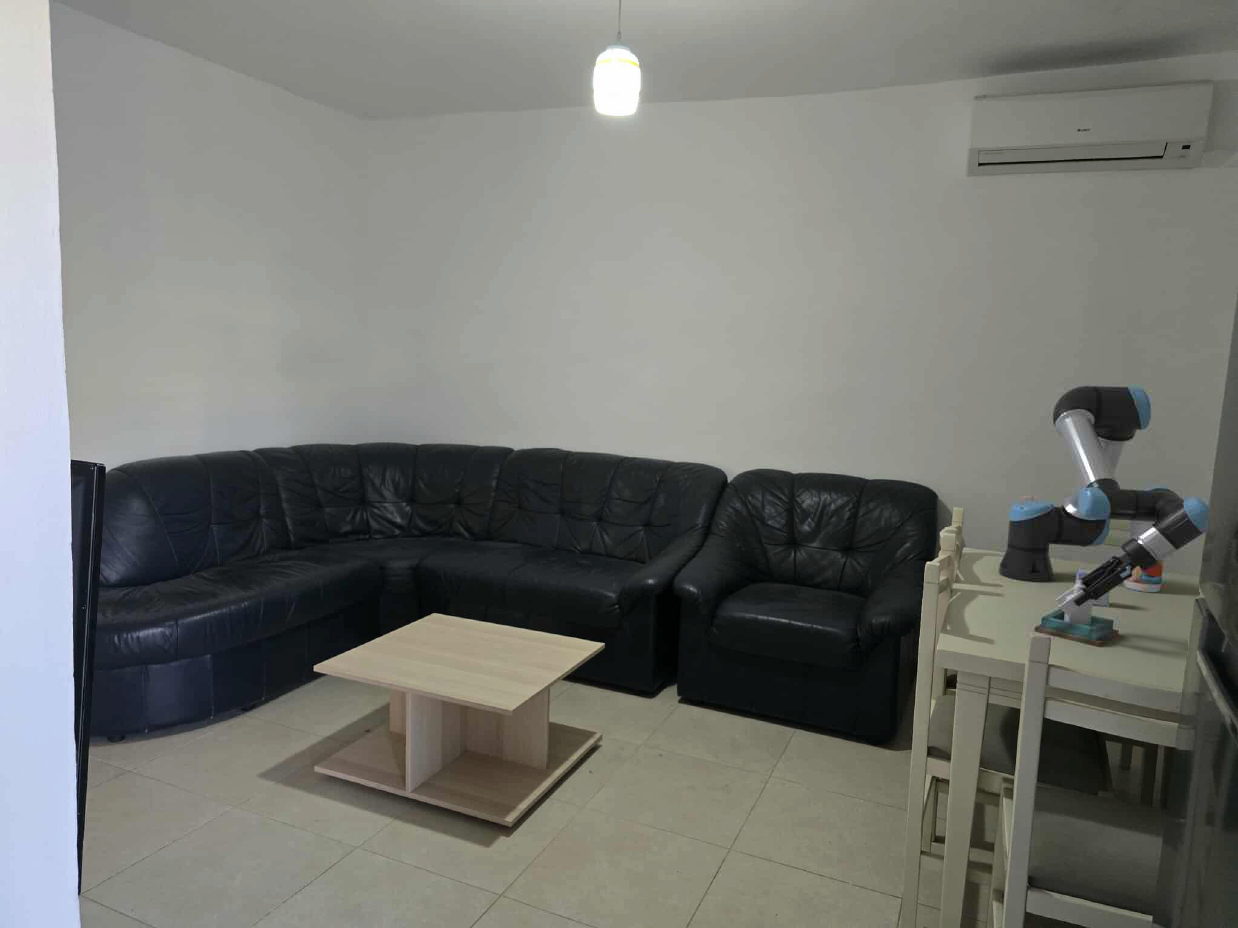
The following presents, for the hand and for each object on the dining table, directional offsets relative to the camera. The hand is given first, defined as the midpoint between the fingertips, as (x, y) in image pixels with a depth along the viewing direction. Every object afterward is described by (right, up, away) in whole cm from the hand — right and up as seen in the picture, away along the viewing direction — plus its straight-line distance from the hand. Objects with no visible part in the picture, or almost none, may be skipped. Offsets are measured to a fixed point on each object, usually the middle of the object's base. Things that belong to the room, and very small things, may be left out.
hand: (1061, 607), depth 195 cm
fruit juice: (+47, -2, +43) cm, 64 cm away
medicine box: (+22, -4, +26) cm, 34 cm away
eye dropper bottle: (+3, -5, -1) cm, 6 cm away
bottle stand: (+3, -6, -1) cm, 7 cm away
